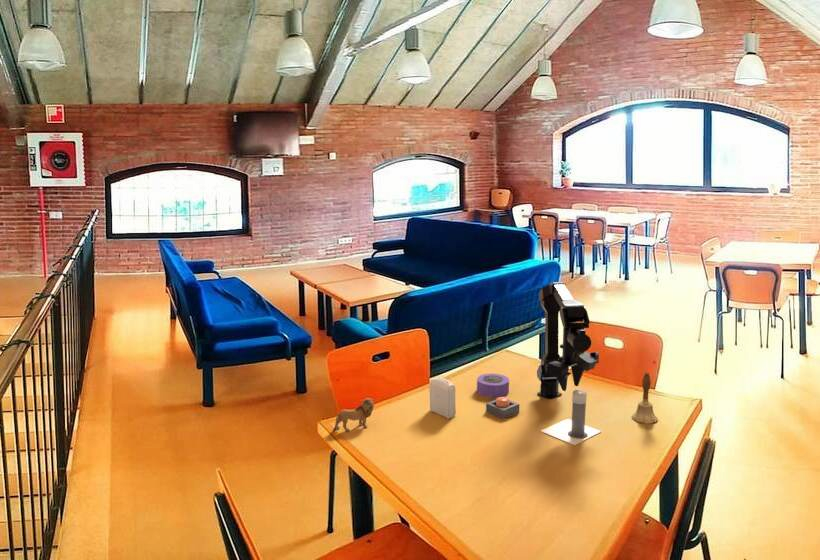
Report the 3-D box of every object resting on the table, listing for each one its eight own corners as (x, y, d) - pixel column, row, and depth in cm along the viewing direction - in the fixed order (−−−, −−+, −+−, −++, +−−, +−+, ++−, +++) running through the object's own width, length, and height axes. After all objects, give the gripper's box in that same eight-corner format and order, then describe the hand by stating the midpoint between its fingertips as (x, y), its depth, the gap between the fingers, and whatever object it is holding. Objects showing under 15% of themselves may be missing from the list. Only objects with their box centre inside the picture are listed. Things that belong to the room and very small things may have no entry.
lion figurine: (370, 419, 224) (369, 394, 222) (377, 425, 220) (376, 400, 218) (329, 429, 217) (328, 403, 215) (336, 435, 213) (335, 409, 211)
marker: (572, 430, 213) (574, 389, 210) (585, 432, 211) (587, 391, 208) (569, 435, 209) (571, 393, 206) (583, 438, 208) (585, 395, 205)
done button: (502, 405, 232) (502, 395, 231) (512, 409, 228) (512, 399, 228) (493, 409, 229) (493, 399, 228) (503, 413, 226) (503, 403, 225)
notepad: (567, 419, 222) (567, 418, 222) (601, 432, 213) (601, 431, 212) (540, 431, 214) (540, 430, 213) (574, 445, 204) (574, 444, 204)
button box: (501, 405, 234) (502, 397, 234) (519, 412, 228) (519, 404, 228) (486, 411, 229) (486, 403, 229) (503, 418, 223) (503, 410, 223)
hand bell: (627, 419, 222) (629, 373, 219) (638, 411, 228) (640, 367, 224) (651, 426, 216) (654, 379, 213) (662, 418, 222) (665, 372, 219)
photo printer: (427, 410, 231) (427, 376, 229) (437, 407, 234) (437, 373, 231) (448, 419, 223) (448, 384, 221) (457, 416, 226) (457, 381, 223)
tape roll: (510, 397, 242) (511, 384, 240) (478, 398, 242) (478, 385, 241) (506, 385, 253) (506, 373, 252) (475, 386, 253) (475, 373, 252)
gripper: (574, 354, 202) (573, 403, 205) (610, 341, 214) (608, 387, 217) (545, 346, 210) (544, 392, 214) (581, 334, 222) (579, 378, 225)
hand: (570, 388), depth 217 cm, fingers open, 6 cm apart
